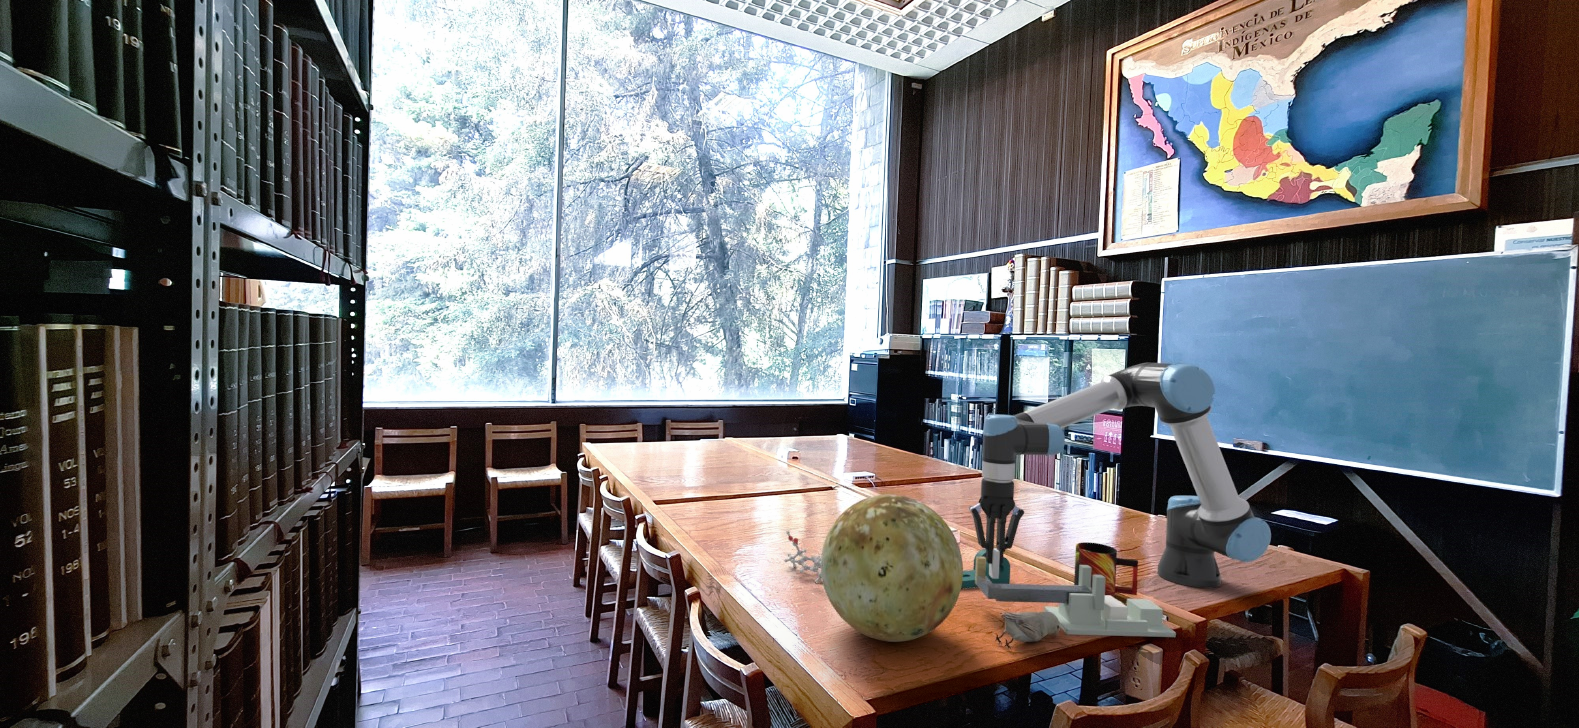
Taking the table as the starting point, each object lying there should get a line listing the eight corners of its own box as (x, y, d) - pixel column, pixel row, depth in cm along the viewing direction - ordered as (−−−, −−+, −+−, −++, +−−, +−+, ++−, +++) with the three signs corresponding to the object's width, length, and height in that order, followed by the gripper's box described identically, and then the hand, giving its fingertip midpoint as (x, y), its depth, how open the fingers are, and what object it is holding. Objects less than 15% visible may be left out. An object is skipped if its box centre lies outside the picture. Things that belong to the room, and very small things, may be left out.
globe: (862, 680, 122) (868, 519, 121) (796, 616, 149) (800, 485, 148) (990, 654, 134) (996, 508, 133) (907, 600, 161) (912, 478, 160)
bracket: (994, 576, 181) (995, 547, 181) (1009, 584, 175) (1010, 555, 175) (936, 581, 176) (937, 552, 176) (950, 590, 169) (951, 560, 169)
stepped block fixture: (1143, 613, 158) (1145, 563, 158) (1175, 636, 145) (1178, 583, 145) (1043, 610, 158) (1046, 560, 157) (1067, 634, 145) (1070, 580, 144)
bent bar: (1071, 587, 160) (1072, 558, 159) (1090, 603, 150) (1092, 573, 149) (974, 585, 159) (976, 556, 159) (987, 601, 149) (989, 570, 149)
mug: (1138, 599, 167) (1140, 552, 166) (1089, 602, 164) (1091, 554, 164) (1112, 585, 176) (1114, 541, 176) (1066, 587, 174) (1068, 542, 173)
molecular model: (845, 585, 171) (845, 548, 170) (810, 593, 167) (810, 555, 166) (811, 559, 188) (811, 525, 188) (779, 565, 184) (778, 531, 183)
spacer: (1093, 612, 155) (1109, 612, 155) (1109, 624, 148) (1126, 624, 148) (1094, 595, 155) (1110, 595, 155) (1110, 607, 148) (1127, 607, 148)
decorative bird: (1066, 642, 141) (1068, 607, 141) (1008, 654, 135) (1010, 618, 134) (1047, 632, 146) (1048, 598, 146) (990, 643, 139) (992, 608, 139)
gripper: (1019, 476, 162) (1015, 571, 162) (966, 475, 162) (962, 570, 162) (1030, 483, 154) (1026, 582, 155) (975, 481, 154) (971, 581, 155)
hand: (993, 576), depth 159 cm, fingers closed
